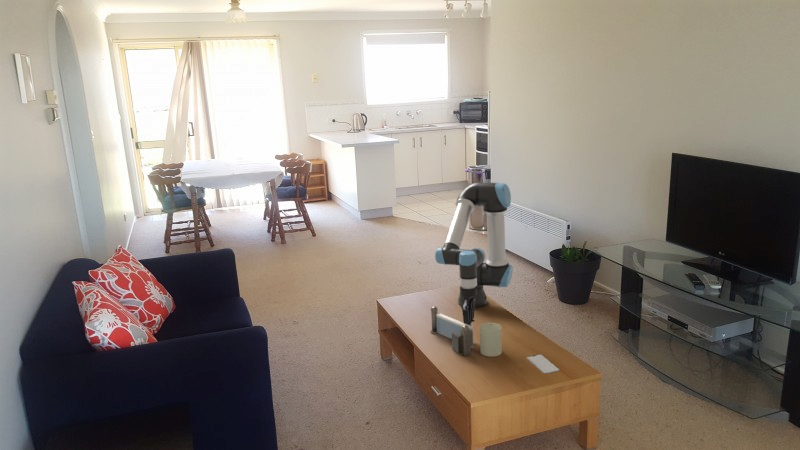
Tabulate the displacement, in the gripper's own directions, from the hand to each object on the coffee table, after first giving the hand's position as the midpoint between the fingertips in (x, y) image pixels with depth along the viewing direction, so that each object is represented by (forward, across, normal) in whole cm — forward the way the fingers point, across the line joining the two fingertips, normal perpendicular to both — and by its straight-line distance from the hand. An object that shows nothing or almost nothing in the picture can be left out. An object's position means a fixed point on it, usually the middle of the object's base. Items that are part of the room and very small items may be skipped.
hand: (469, 335), depth 260 cm
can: (+3, +7, +12) cm, 14 cm away
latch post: (+3, +11, 0) cm, 11 cm away
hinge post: (+3, -4, -18) cm, 19 cm away
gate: (+2, +2, -6) cm, 7 cm away
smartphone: (+3, +10, +35) cm, 37 cm away
